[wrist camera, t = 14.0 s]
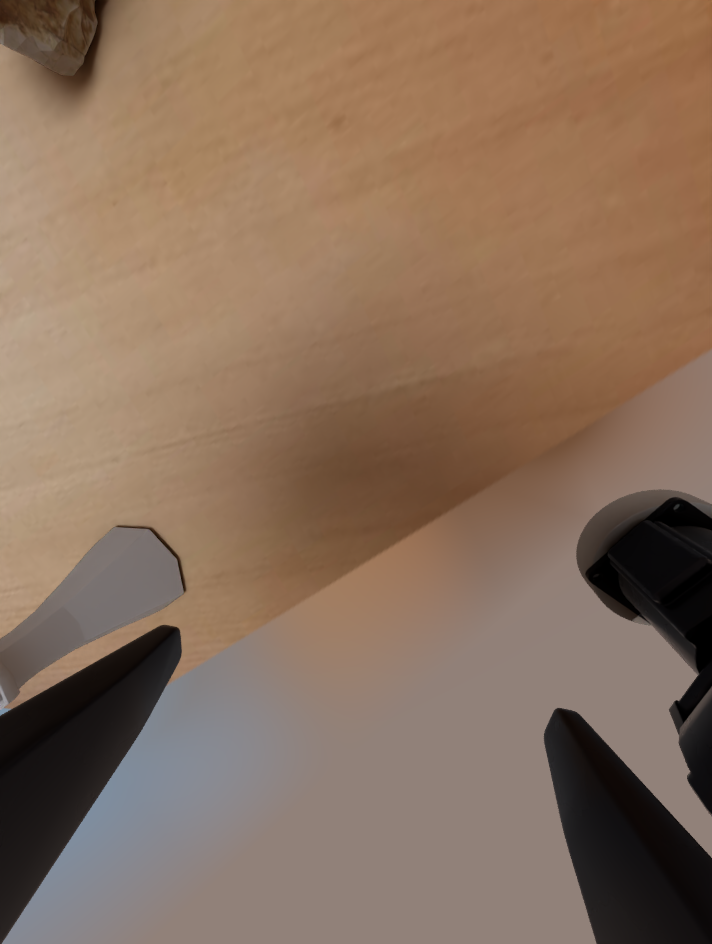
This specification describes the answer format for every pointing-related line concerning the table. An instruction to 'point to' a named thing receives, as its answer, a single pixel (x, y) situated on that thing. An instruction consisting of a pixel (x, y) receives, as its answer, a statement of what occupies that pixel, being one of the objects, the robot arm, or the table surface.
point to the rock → (49, 31)
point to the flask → (91, 604)
